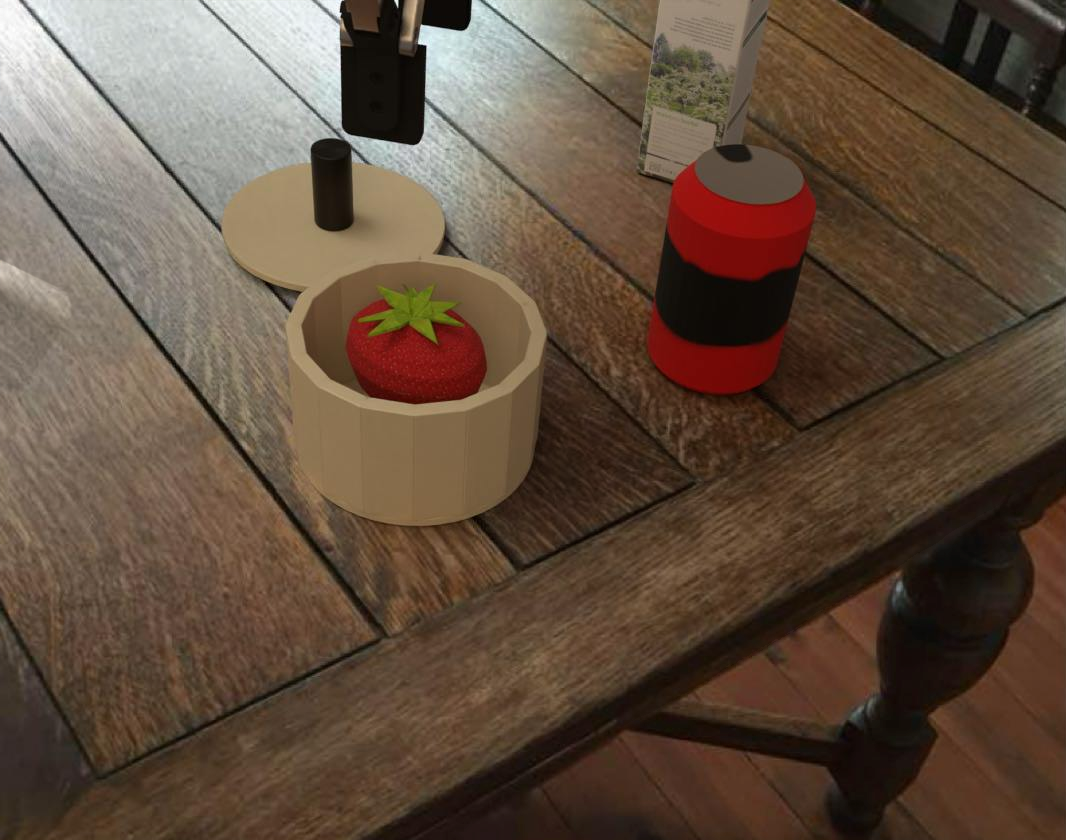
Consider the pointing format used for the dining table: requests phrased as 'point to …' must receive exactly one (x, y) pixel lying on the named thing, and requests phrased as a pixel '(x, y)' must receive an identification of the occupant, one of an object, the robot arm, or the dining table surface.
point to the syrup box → (698, 81)
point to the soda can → (729, 268)
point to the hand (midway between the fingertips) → (410, 77)
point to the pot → (423, 429)
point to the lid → (327, 217)
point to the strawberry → (415, 349)
